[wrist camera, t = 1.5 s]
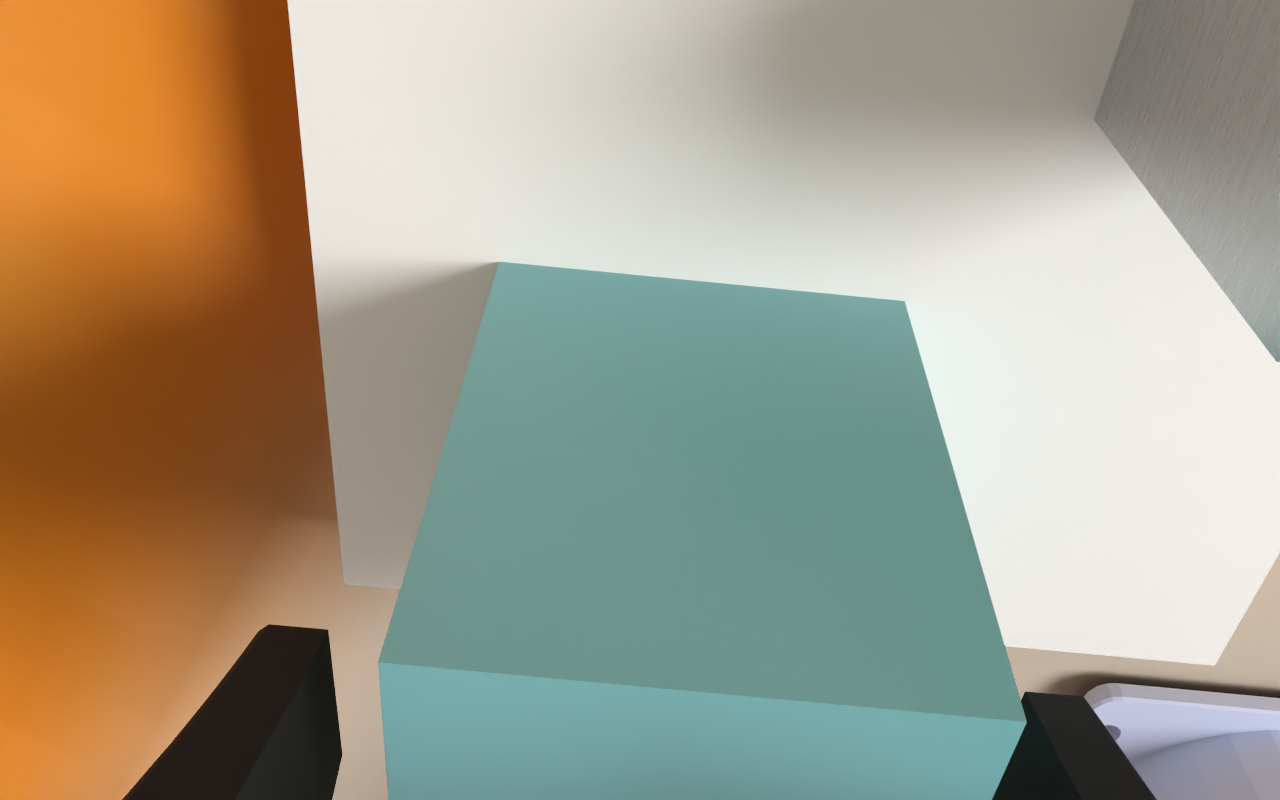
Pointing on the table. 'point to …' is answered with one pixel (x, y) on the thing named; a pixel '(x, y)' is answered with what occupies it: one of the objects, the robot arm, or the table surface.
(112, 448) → the table surface
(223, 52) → the table surface
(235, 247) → the table surface
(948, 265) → the post board
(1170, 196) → the steel post
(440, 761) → the teal rectangular block
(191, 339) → the table surface
